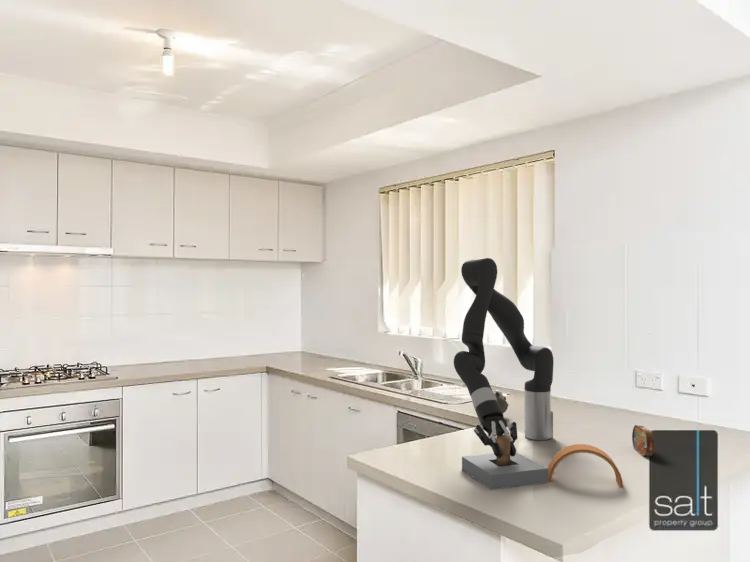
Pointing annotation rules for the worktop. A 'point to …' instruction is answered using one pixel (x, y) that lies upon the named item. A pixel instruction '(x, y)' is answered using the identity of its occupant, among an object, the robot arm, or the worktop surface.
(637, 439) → the tin
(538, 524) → the worktop surface
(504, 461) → the peg
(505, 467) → the socket block
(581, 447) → the arch
